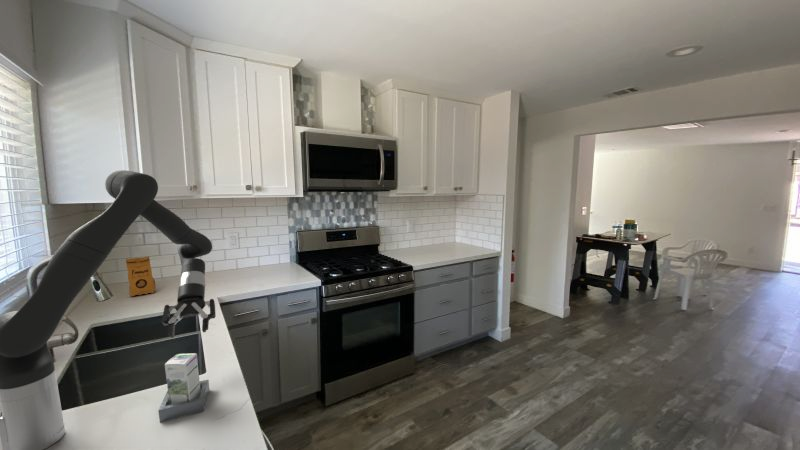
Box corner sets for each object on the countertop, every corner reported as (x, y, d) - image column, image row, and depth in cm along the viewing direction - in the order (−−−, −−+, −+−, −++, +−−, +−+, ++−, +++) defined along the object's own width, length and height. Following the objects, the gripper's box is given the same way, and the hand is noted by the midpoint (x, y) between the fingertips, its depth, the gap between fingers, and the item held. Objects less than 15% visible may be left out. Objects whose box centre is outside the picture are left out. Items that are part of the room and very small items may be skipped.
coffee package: (155, 294, 189) (151, 257, 186) (128, 298, 182) (123, 260, 180) (157, 289, 197) (153, 254, 195) (131, 293, 191) (126, 257, 188)
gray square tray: (159, 422, 86) (158, 410, 86) (170, 399, 95) (168, 388, 95) (203, 411, 90) (202, 399, 89) (209, 390, 99) (208, 379, 99)
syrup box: (202, 397, 96) (197, 351, 94) (190, 411, 90) (185, 363, 88) (182, 398, 95) (177, 352, 94) (169, 412, 90) (163, 363, 88)
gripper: (163, 285, 104) (156, 334, 95) (214, 279, 109) (212, 325, 100) (169, 295, 109) (164, 343, 100) (217, 289, 115) (216, 334, 106)
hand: (188, 334), depth 100 cm, fingers open, 8 cm apart
